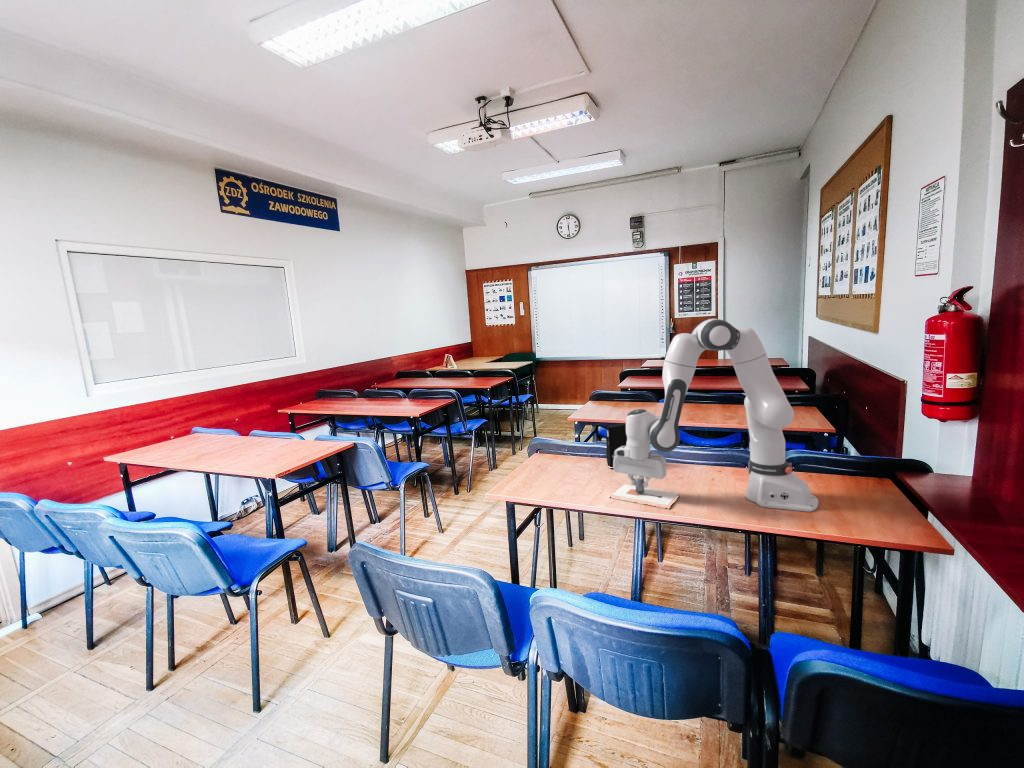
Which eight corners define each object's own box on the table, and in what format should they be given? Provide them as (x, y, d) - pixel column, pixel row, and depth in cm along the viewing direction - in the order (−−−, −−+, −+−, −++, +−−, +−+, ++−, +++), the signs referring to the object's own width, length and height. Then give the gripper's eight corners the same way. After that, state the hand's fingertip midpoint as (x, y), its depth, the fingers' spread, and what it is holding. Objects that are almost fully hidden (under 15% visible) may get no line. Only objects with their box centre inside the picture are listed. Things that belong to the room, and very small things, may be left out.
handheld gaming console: (610, 469, 204) (608, 427, 201) (606, 466, 209) (603, 425, 206) (634, 465, 207) (632, 424, 204) (628, 462, 212) (627, 422, 209)
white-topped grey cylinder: (645, 490, 172) (645, 473, 171) (642, 493, 170) (641, 476, 169) (637, 489, 174) (636, 472, 173) (634, 492, 172) (633, 475, 171)
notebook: (680, 496, 169) (680, 493, 169) (668, 509, 159) (668, 506, 159) (623, 486, 183) (623, 483, 183) (609, 498, 173) (609, 494, 173)
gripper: (668, 452, 166) (669, 487, 168) (617, 446, 178) (618, 479, 180) (662, 457, 161) (663, 493, 163) (610, 450, 173) (612, 484, 175)
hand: (639, 485), depth 172 cm, fingers closed on white-topped grey cylinder, 3 cm apart
